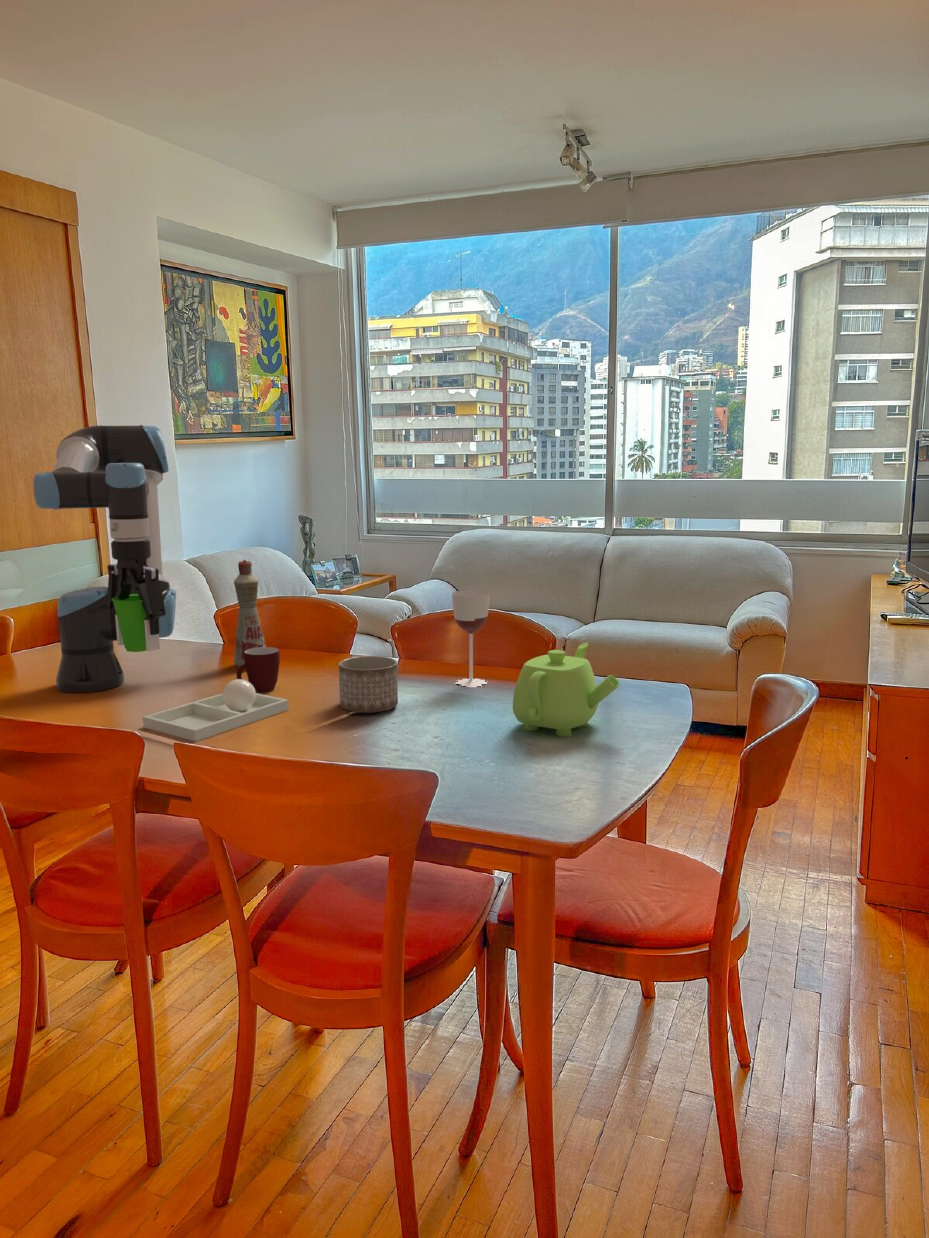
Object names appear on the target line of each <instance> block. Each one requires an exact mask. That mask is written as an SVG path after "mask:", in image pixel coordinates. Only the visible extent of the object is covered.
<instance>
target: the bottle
mask: <svg viewBox="0 0 929 1238" xmlns="http://www.w3.org/2000/svg"><path fill="white" fill-rule="evenodd" d="M237 565H238V573H239V574H238V575H237V577H236V578H235V579H234V582H233V585H234V588H235V593H236V597H237V603H238V607H239V608H238V614H237V615H238V616H237V617H238V618H237V625H236V630H235V632H236V633H235V634H236V637H235V647H234V656H233V657H234V659H233V661H234V662H233V663H234V665H235V666H236V667H238V668H237V669H239V667H240V666H241V665H243V664H245V663H244V651H245V650H247V649H251V648H258V647H267V645H266V641H265V636H264V632H263V628H262V624H261V620H260V616H259V612H258V607H257V604H258V603H257V602H258V601H257V599H258V591H259V589H258V588H259V579H258V578H257V577H255V576H254V573H253V569H252V568H253V567H252V566H253V565H252V561H250V560H246V559H243V561H241V560H240V561H238V563H237Z"/></svg>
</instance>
